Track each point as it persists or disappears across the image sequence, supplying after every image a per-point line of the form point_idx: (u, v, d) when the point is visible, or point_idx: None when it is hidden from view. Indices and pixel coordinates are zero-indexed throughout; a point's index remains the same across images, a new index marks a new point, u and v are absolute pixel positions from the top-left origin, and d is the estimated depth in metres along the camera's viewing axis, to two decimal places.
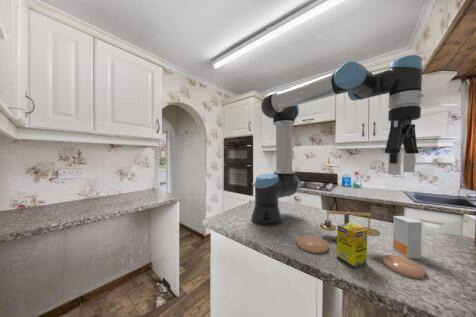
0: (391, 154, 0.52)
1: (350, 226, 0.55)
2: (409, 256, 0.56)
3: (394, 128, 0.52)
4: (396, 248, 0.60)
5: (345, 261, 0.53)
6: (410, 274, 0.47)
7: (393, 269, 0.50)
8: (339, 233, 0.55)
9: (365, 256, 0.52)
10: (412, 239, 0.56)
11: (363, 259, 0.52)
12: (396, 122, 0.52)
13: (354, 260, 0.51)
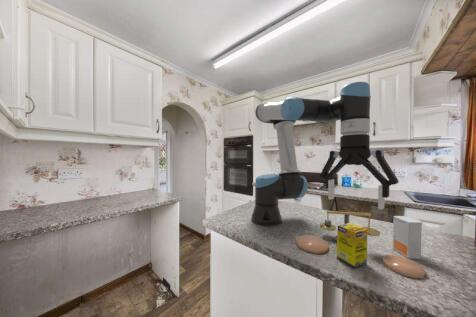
0: None
1: (350, 226, 0.55)
2: (409, 256, 0.56)
3: None
4: (396, 248, 0.60)
5: (345, 261, 0.53)
6: (410, 274, 0.47)
7: (393, 269, 0.50)
8: (339, 233, 0.55)
9: (365, 256, 0.52)
10: (412, 240, 0.56)
11: (363, 259, 0.52)
12: None
13: (354, 260, 0.51)
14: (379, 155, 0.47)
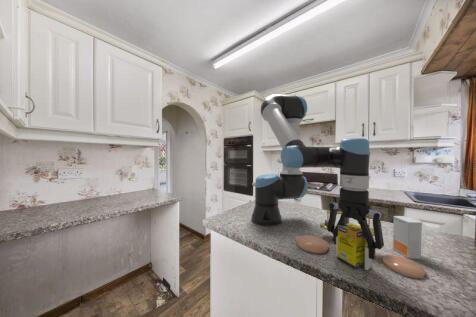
0: None
1: (351, 226, 0.55)
2: (409, 256, 0.56)
3: None
4: (396, 248, 0.60)
5: (346, 261, 0.53)
6: (410, 274, 0.47)
7: (393, 269, 0.50)
8: (340, 233, 0.55)
9: None
10: (412, 240, 0.56)
11: (363, 259, 0.52)
12: None
13: (354, 260, 0.51)
14: (376, 219, 0.48)
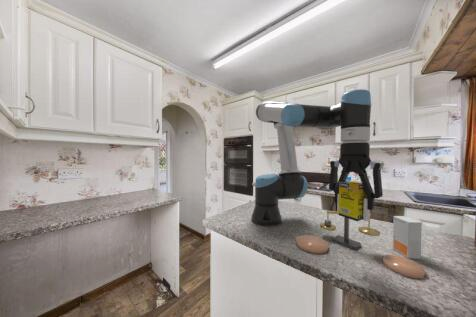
0: None
1: (352, 182, 0.54)
2: (409, 256, 0.56)
3: None
4: (396, 248, 0.60)
5: (347, 216, 0.53)
6: (410, 274, 0.47)
7: (393, 269, 0.50)
8: (341, 189, 0.54)
9: None
10: (412, 239, 0.56)
11: None
12: None
13: (356, 213, 0.50)
14: (377, 168, 0.48)
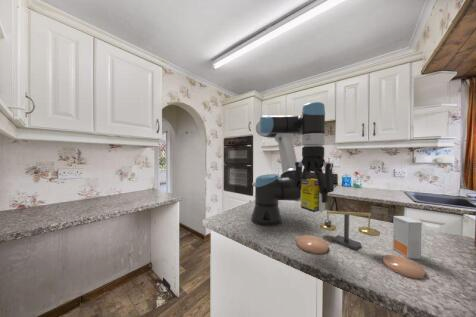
0: None
1: (311, 179, 0.64)
2: (409, 256, 0.56)
3: None
4: (396, 248, 0.60)
5: (307, 208, 0.62)
6: (410, 274, 0.47)
7: (393, 269, 0.50)
8: (302, 185, 0.64)
9: None
10: (412, 239, 0.56)
11: None
12: None
13: (313, 205, 0.60)
14: (327, 168, 0.58)
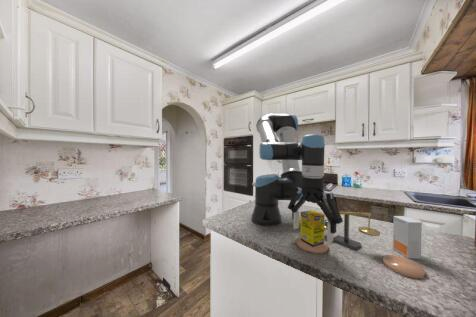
0: None
1: (311, 212, 0.64)
2: (409, 256, 0.56)
3: None
4: (396, 248, 0.60)
5: (306, 241, 0.63)
6: (410, 274, 0.47)
7: (393, 269, 0.50)
8: (302, 218, 0.64)
9: (323, 236, 0.62)
10: (412, 239, 0.56)
11: (320, 239, 0.62)
12: None
13: (312, 240, 0.60)
14: (328, 198, 0.57)
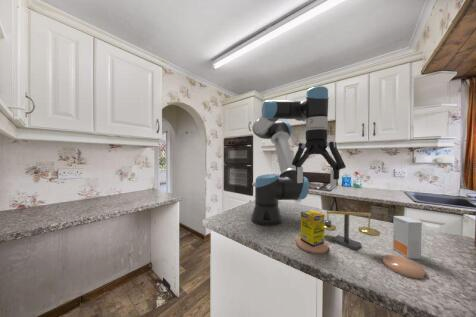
0: None
1: (311, 212, 0.64)
2: (409, 256, 0.56)
3: None
4: (396, 248, 0.60)
5: (306, 241, 0.63)
6: (410, 274, 0.47)
7: (393, 269, 0.50)
8: (302, 218, 0.64)
9: (323, 236, 0.62)
10: (412, 240, 0.56)
11: (320, 239, 0.62)
12: None
13: (312, 240, 0.60)
14: (331, 146, 0.59)
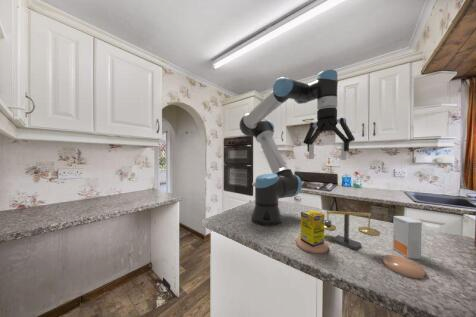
0: None
1: (311, 212, 0.64)
2: (409, 256, 0.56)
3: None
4: (396, 248, 0.60)
5: (306, 241, 0.63)
6: (410, 274, 0.47)
7: (393, 269, 0.50)
8: (302, 218, 0.64)
9: (323, 236, 0.62)
10: (412, 240, 0.56)
11: (320, 239, 0.62)
12: None
13: (312, 240, 0.60)
14: (342, 121, 0.67)
